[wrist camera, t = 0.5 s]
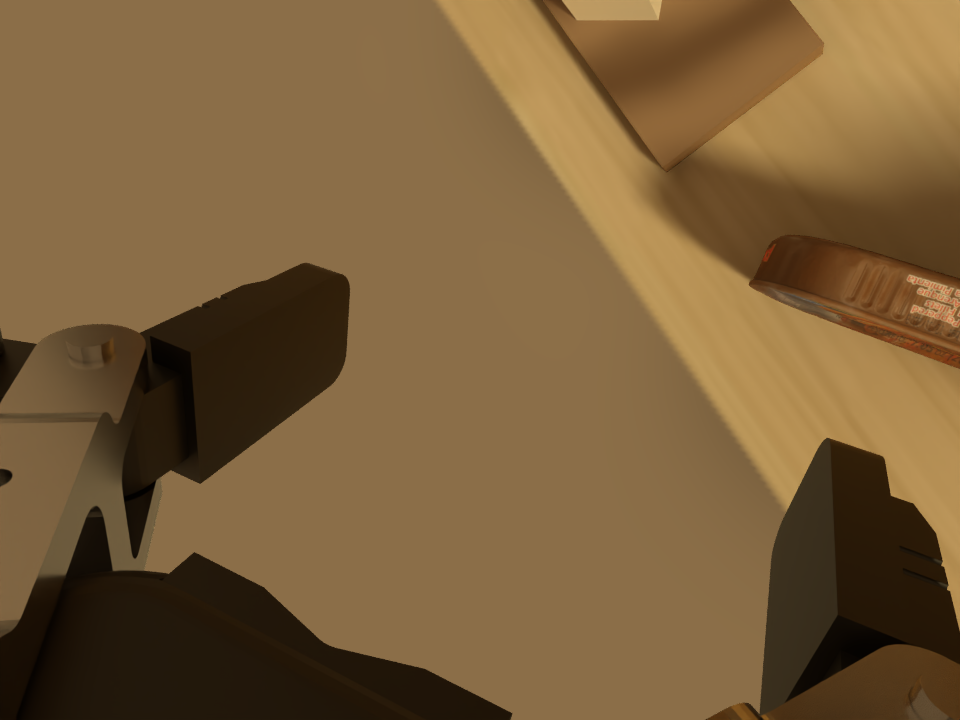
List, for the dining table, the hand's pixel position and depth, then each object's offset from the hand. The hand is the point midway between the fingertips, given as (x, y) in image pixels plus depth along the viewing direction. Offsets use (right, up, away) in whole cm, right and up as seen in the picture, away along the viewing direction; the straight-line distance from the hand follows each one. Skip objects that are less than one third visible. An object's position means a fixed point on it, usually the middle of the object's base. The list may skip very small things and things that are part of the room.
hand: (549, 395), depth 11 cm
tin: (+20, +3, +22) cm, 30 cm away
